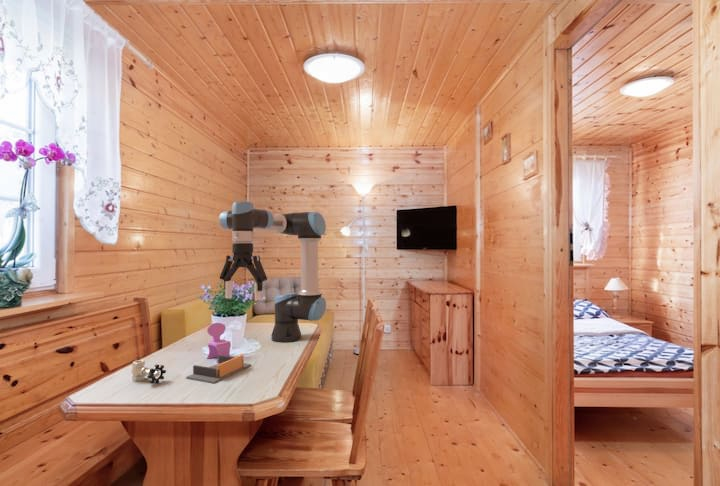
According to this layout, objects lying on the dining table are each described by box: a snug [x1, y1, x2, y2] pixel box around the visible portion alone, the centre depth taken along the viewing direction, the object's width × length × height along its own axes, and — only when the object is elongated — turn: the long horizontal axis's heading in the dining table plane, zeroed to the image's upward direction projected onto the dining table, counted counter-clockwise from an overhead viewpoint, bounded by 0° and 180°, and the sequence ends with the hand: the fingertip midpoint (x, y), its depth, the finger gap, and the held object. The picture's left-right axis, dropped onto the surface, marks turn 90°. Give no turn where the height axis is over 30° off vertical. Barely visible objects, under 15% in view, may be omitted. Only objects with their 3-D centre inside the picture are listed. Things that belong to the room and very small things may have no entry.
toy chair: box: [206, 322, 232, 364], centre depth 155 cm, size 8×9×15 cm
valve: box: [131, 359, 167, 385], centre depth 130 cm, size 7×7×12 cm
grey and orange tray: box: [185, 354, 252, 384], centre depth 139 cm, size 20×13×5 cm, turn 158°
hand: (243, 299), depth 137 cm, fingers open, 13 cm apart
